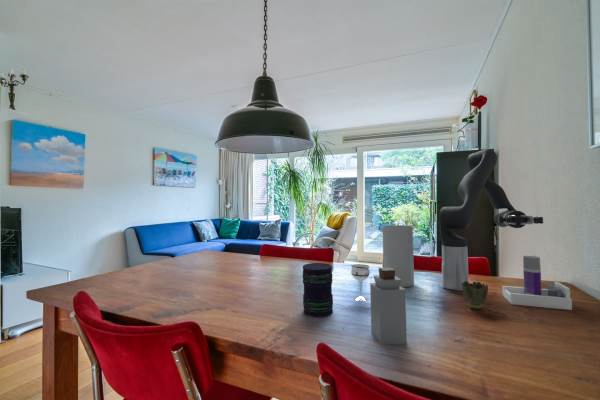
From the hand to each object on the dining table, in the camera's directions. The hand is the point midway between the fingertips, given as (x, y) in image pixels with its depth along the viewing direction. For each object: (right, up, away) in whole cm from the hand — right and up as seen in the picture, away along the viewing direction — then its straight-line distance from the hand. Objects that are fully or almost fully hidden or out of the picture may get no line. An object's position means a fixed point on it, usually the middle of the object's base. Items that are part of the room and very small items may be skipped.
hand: (523, 220), depth 109 cm
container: (-6, -27, -12) cm, 30 cm away
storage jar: (-81, -29, -17) cm, 88 cm away
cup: (-29, -28, -17) cm, 44 cm away
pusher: (-1, -26, -14) cm, 30 cm away
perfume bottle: (-64, -28, -36) cm, 79 cm away
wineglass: (-65, -29, -6) cm, 71 cm away
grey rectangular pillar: (-44, -29, +13) cm, 54 cm away
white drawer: (-6, -27, -12) cm, 31 cm away
